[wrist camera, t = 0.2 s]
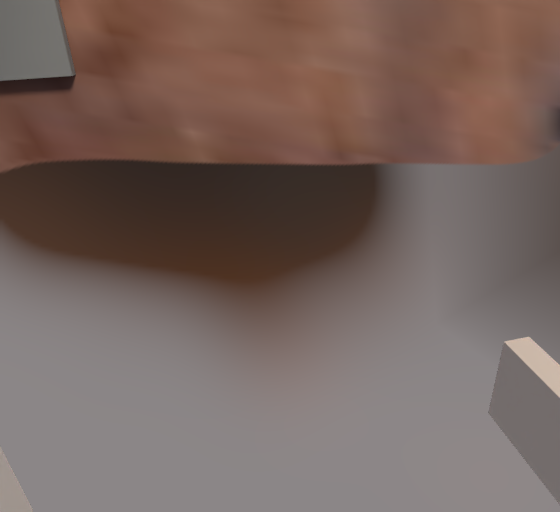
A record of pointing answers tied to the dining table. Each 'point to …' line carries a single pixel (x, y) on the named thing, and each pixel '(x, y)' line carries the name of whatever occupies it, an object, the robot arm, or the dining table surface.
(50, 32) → the socket plate
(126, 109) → the dining table surface
